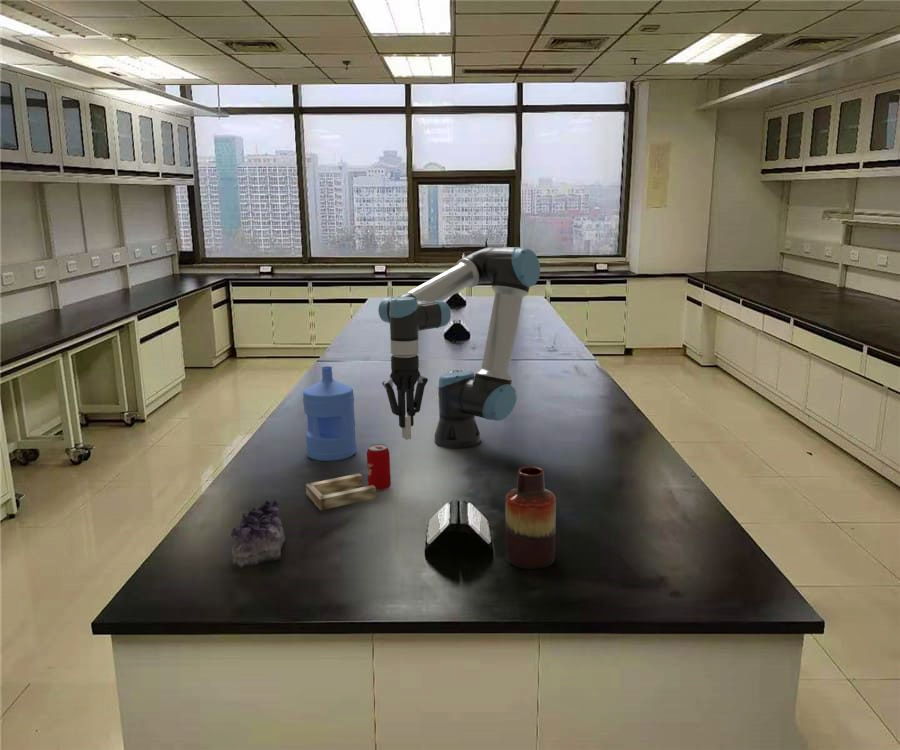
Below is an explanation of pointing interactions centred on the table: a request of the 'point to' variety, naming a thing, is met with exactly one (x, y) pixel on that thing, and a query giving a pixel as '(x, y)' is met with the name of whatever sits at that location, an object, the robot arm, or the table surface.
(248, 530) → the geode
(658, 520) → the table surface
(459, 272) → the robot arm
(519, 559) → the vase
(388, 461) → the beverage can
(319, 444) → the water jug
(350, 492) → the u rest
